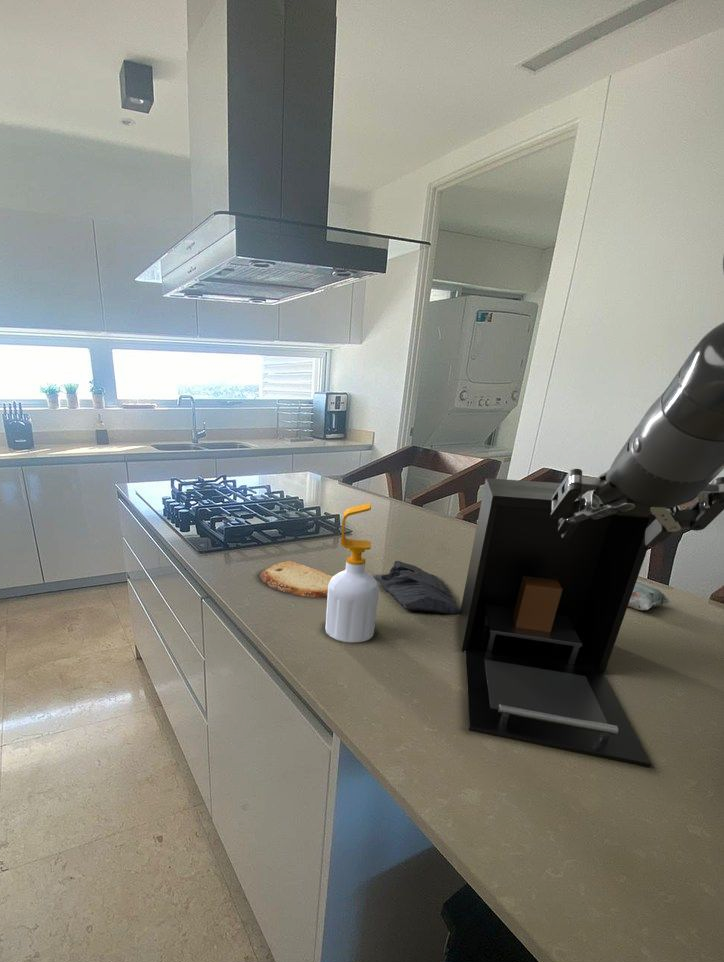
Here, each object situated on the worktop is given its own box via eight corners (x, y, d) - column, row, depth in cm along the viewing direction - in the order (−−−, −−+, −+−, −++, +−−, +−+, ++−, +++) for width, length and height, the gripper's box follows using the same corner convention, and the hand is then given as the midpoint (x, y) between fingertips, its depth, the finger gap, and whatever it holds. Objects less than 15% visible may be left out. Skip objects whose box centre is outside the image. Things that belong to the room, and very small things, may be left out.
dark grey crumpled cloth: (392, 616, 99) (395, 595, 97) (373, 577, 119) (375, 558, 117) (467, 618, 99) (472, 596, 97) (435, 578, 119) (438, 559, 117)
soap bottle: (373, 647, 87) (389, 512, 77) (323, 642, 89) (332, 509, 79) (373, 625, 95) (387, 500, 85) (327, 620, 97) (335, 497, 87)
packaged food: (645, 619, 100) (653, 597, 98) (588, 598, 109) (594, 577, 107) (667, 611, 103) (675, 590, 101) (610, 592, 113) (617, 572, 111)
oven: (580, 634, 93) (625, 487, 82) (652, 772, 60) (746, 558, 48) (459, 616, 99) (486, 478, 88) (464, 733, 66) (508, 534, 55)
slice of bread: (349, 598, 107) (350, 582, 105) (268, 602, 104) (268, 586, 103) (328, 569, 123) (329, 555, 121) (257, 572, 120) (258, 558, 119)
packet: (545, 621, 87) (557, 579, 83) (550, 632, 83) (562, 589, 80) (512, 616, 88) (522, 575, 85) (515, 627, 84) (526, 584, 81)
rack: (562, 635, 90) (568, 616, 89) (575, 665, 81) (582, 644, 79) (482, 623, 94) (486, 605, 93) (485, 650, 85) (490, 630, 83)
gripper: (779, 411, 41) (676, 513, 56) (589, 407, 45) (539, 502, 60) (789, 486, 39) (678, 571, 54) (588, 474, 43) (536, 556, 57)
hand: (605, 535), depth 57 cm, fingers open, 8 cm apart
